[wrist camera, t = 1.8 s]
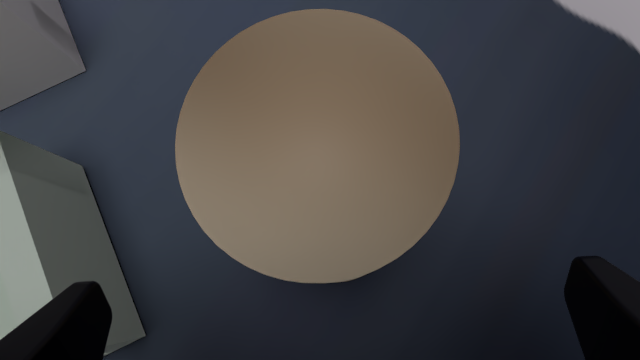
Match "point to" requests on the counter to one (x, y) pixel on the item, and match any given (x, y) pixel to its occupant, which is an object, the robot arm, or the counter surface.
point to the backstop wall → (34, 49)
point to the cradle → (54, 240)
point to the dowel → (317, 146)
